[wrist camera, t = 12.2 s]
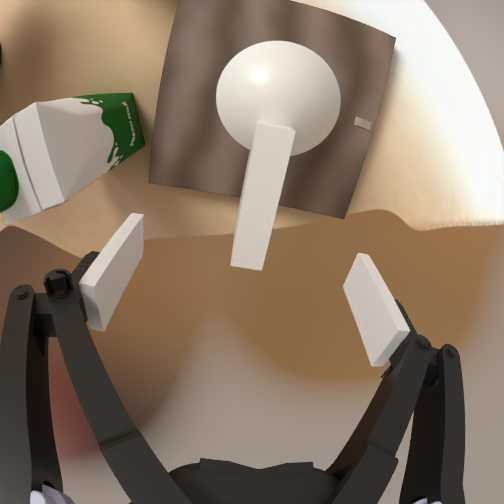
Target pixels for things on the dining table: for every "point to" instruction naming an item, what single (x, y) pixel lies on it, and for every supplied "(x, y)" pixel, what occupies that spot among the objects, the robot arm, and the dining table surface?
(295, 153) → the spoon
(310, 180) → the base plate
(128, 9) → the dining table surface
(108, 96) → the milk carton
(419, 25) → the dining table surface
